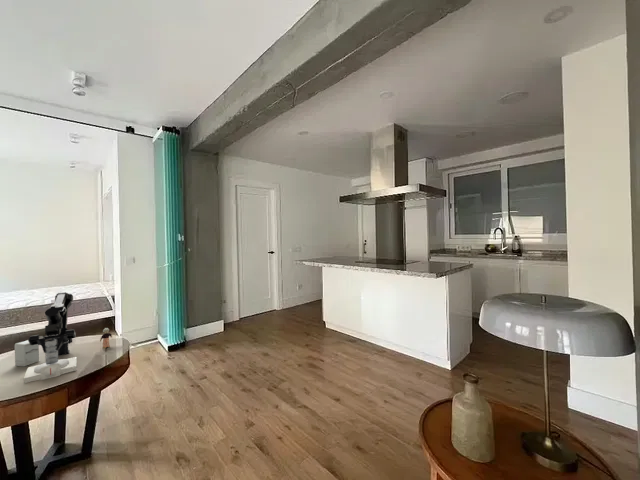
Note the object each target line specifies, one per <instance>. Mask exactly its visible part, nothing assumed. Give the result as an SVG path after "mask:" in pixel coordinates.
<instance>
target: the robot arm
mask: <svg viewBox="0 0 640 480" xmlns="http://www.w3.org/2000/svg"><path fill="white" fill-rule="evenodd" d="M73 301H74V295H73V294H72V293H68V292H58V293H56V295H55V296H54V303H53V304H52V305H50V306H49V308H48V309H46V310H45V312H44V315H45V317H46V320H47V321H48V322H47V323H48V324H47V325H44V332H45V333H44V334H45V336H44V335H40V334H35V335H30V336H29V337H28V339H27V340H28V341H29V343H30V345H36V344H38V345H39V346H41V348H42V351H43V353H44V354H45V341H47V340H51V339H57V340H58V346H57V350H58V357H60V356H64V355H69V354H70V349H69V344H72V343H73V339H75V338H76V337H77V335H76V334H77V333H76V331H75V329H67V327H68V318H69V316H68V315H69V314H68V313H69V308H70V307H71V305H72V304H73Z"/></svg>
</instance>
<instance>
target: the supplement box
mask: <svg viewBox="0 0 640 480" xmlns="http://www.w3.org/2000/svg"><path fill="white" fill-rule="evenodd" d="M39 348H40V345H38V344H36V345H30V343H29V341H28V339H27V340H25V341H20V342H16V343H15V344H14V365H15V366H17V367H26V366H28V365H32V364H35V363H37V362H40V349H39Z"/></svg>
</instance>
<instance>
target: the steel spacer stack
mask: <svg viewBox="0 0 640 480" xmlns="http://www.w3.org/2000/svg"><path fill="white" fill-rule="evenodd" d="M57 346H58V340H57V339H48V340H45V353H44V354H45V363H46V364H47V365H49V364H54V363H56V362H58V360H59V356H58V350H57Z"/></svg>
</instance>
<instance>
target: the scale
mask: <svg viewBox="0 0 640 480" xmlns="http://www.w3.org/2000/svg"><path fill="white" fill-rule="evenodd" d="M77 361H78V360H77V356H74V357H70V358H69V357H68V358H61V359H58V362H56V363H54V364H49V365H47V364H46V362H43V363H40V364H37V365H32V366H29V367H27V369H26V372H25V374H24V377H23V384H27V383H30V382H34V381H38V380H42V381H44V380H48V379H51V378H55V377H59V376H61V375H63V374H67V373H72V372H76V371H77V364H78V363H77Z"/></svg>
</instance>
